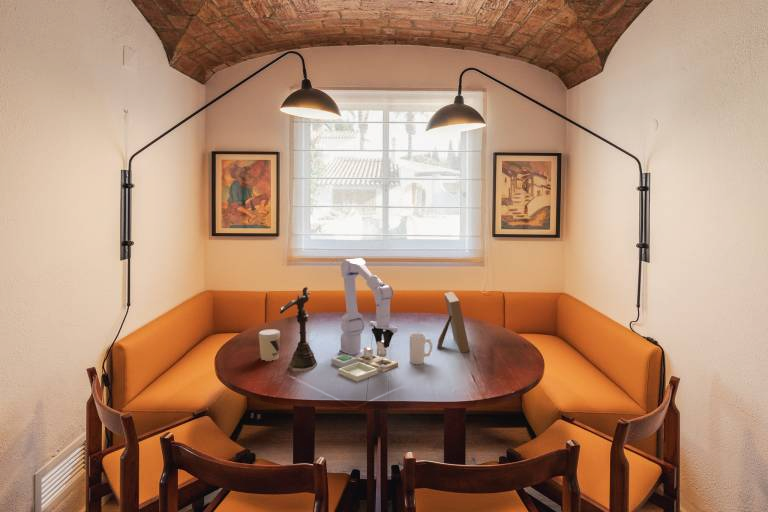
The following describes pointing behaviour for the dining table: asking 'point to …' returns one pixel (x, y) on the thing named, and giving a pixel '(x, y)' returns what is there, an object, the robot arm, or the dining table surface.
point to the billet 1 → (368, 353)
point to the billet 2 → (381, 348)
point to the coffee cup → (269, 344)
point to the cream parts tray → (377, 362)
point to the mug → (418, 348)
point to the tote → (358, 371)
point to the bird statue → (301, 337)
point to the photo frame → (455, 323)
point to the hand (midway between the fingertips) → (382, 345)
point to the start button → (344, 358)
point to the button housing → (343, 363)
